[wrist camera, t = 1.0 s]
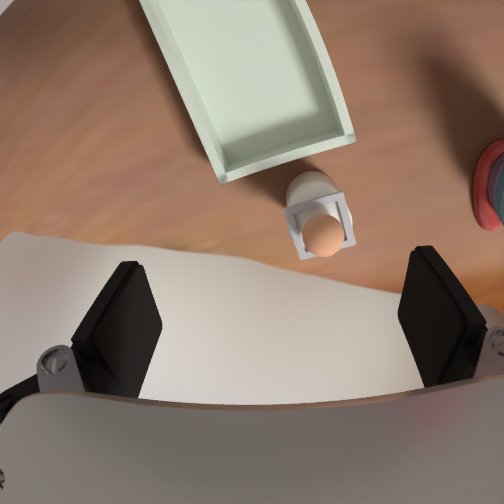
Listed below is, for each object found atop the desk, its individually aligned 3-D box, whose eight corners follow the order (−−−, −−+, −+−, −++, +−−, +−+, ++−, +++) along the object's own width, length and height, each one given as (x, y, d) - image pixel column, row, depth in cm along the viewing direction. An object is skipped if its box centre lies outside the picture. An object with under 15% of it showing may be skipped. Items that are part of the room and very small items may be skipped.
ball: (335, 202, 23) (342, 220, 21) (343, 237, 25) (352, 258, 22) (295, 214, 24) (298, 233, 21) (306, 247, 26) (310, 269, 23)
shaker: (330, 164, 28) (344, 188, 22) (343, 211, 30) (358, 245, 25) (278, 180, 29) (279, 208, 23) (294, 226, 32) (298, 262, 26)
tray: (262, -67, 16) (260, -82, 13) (347, 134, 26) (356, 141, 23) (142, -20, 19) (126, -29, 16) (226, 172, 29) (220, 184, 26)
